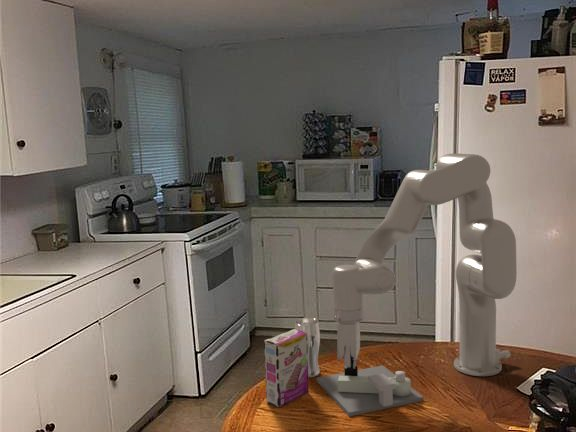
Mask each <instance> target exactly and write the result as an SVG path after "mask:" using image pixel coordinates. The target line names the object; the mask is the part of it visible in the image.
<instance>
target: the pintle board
mask: <svg viewBox="0 0 576 432" xmlns="http://www.w3.org/2000/svg"><path fill="white" fill-rule="evenodd" d="M339 376H345V372H341V373H336V374H329V375H324V376H319V377H316V383H317V384H318V385H319V386H320V387H321V388H322V389H323V390H324V391H325V392H326V393H327V395H329V397H330V398H331V399H332V400H333V401H334V402H335V403H336V404H337V405H338V406H339V407H340V408H341V410H343V412H344V413H345V414H346V415H347V416H348V417H353V416H357V415H358V416H359V415H362V414H368V413H372V412H377V411H382V410H386V409H390V408H395V407H400V406H405V405H409V404H414V403H418V402H419V403H420V402H422V401H423V402H424V396H422V395H421V394H420V393H419V392H418V391H417V390H415V389H414V388H413V387H411V394H410V395H408V396H395V395H393V389H395V383H394V382H393V381H391V380H390V379H389V378H393V377H396V376H395V373H393V372H392V371H391V370H389V369H388V368H387V367H386V366H384V365H378V366H372V367H368V368H363V369H358V376H364V377H368V381H369V382H370V383H371V384H373V385H374V386H375V387H376V388H377V389H378V390H379V394H376V393H355V392H338V378H339ZM388 377H389V378H388Z"/></svg>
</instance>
